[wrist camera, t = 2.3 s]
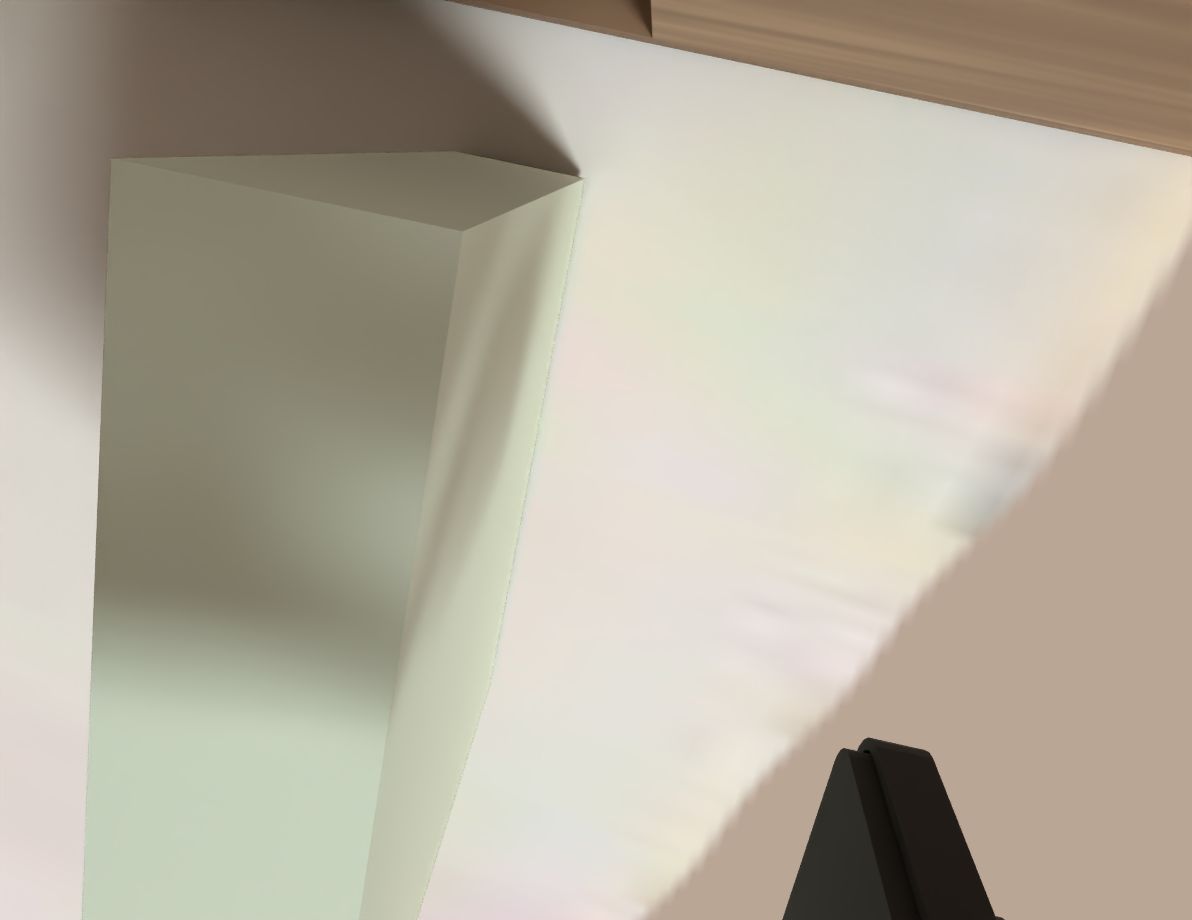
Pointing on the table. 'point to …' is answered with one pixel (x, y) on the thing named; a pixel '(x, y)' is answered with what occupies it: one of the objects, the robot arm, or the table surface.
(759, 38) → the cabinet
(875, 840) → the robot arm
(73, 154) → the table surface
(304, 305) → the door
